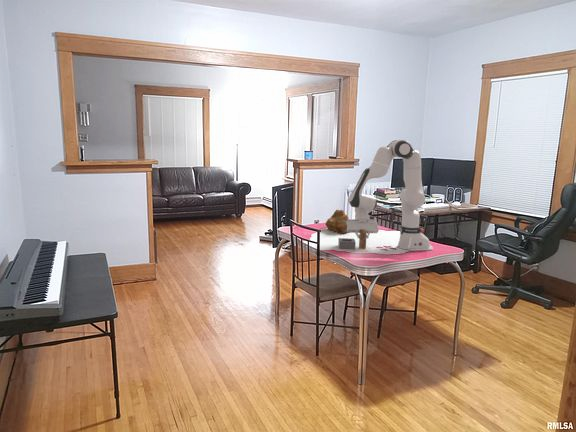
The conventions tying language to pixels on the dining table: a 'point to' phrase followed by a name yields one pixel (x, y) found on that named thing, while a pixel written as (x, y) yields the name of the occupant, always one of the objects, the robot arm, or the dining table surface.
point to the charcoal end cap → (346, 243)
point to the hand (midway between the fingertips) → (363, 237)
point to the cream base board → (360, 249)
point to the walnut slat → (362, 239)
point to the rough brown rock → (338, 222)
